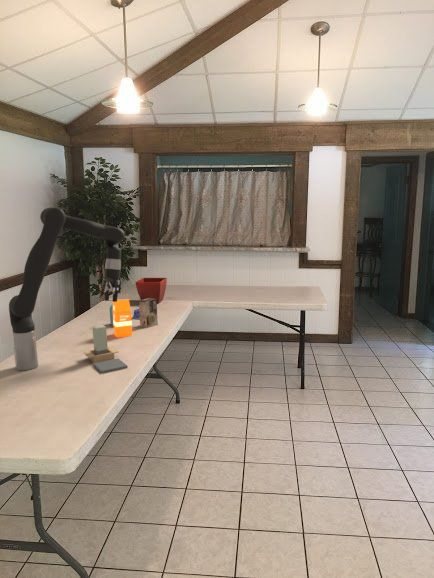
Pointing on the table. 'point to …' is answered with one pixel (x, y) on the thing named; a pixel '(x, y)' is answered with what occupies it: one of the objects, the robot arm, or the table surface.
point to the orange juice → (122, 318)
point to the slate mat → (110, 365)
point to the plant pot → (151, 288)
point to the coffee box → (148, 312)
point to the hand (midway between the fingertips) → (110, 301)
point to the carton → (101, 357)
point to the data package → (111, 315)
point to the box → (100, 339)
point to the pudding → (136, 314)
